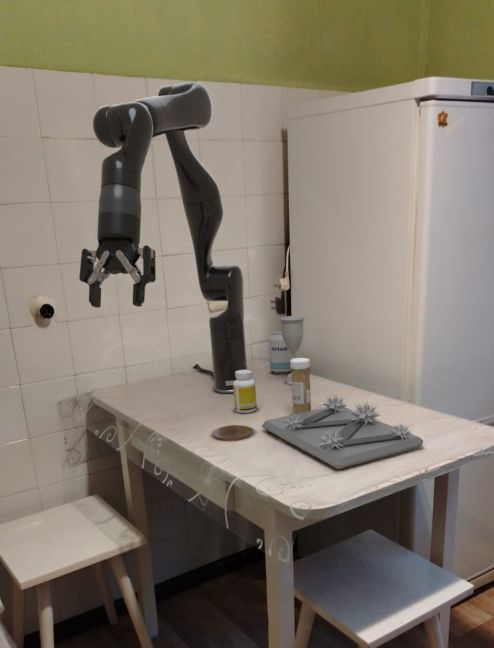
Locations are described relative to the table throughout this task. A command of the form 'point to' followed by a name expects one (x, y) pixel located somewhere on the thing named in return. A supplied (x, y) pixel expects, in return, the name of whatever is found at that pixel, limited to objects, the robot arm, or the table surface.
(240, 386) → the supplement bottle
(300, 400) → the sprinkles bottle
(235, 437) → the coaster
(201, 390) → the table surface
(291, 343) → the chalice
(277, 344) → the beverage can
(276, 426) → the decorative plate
